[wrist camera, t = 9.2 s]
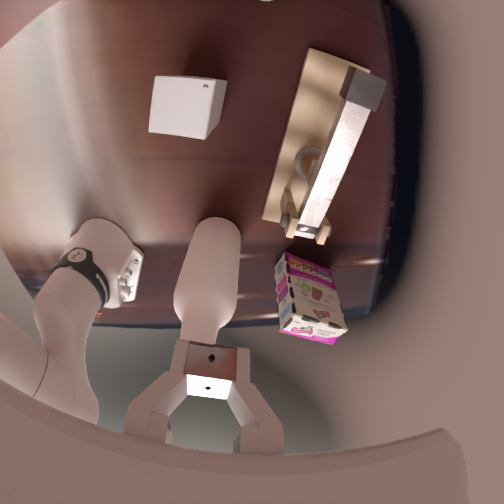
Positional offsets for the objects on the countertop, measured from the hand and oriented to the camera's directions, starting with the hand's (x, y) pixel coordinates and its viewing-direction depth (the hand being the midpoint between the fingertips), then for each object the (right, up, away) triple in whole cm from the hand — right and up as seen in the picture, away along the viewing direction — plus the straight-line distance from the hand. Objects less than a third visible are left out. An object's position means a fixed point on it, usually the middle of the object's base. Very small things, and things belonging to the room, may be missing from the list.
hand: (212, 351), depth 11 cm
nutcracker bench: (+12, +22, +30) cm, 39 cm away
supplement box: (-6, +28, +26) cm, 39 cm away
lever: (+12, +18, +23) cm, 31 cm away
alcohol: (-5, +7, +41) cm, 41 cm away
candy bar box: (+12, +1, +45) cm, 47 cm away
